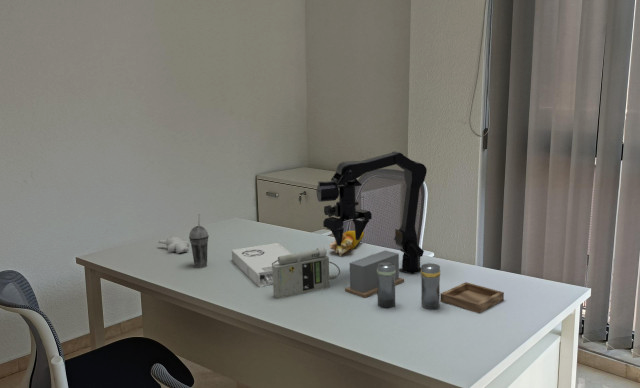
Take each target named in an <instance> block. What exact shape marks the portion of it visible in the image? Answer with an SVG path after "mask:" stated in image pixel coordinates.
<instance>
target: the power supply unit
mask: <svg viewBox="0 0 640 388" xmlns="http://www.w3.org/2000/svg"><path fill="white" fill-rule="evenodd" d="M290 254H293V253H292V252H290V251H289V250H287V249H286V248H285V247H283V246H282V245H281V244H279V243H278V242H275V243H270V244H269V243H268V244H262V245H261V244H260V245H256V246H250V247H249V246H248V247H243V248H235V249H231V258H232V259H231V260H232V263H233V264H234V265H236V266H237V267H238V268H239V269H240V270H241V271H242V272H243V273H244V274H245V275H246V276H247V277H248V278H249V279H250V280H251V281H252V282H253V283H255V284H256V285H257V286H258V288H261V287H264V286H265V287H266V286H270V285H272V286H273V271H272V263H273V262H275V261H276V260H278V257H279V256H284V255H290ZM274 264H279V262H278V261H277V262H276V263H274Z"/></svg>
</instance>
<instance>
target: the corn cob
mask: <svg viewBox="0 0 640 388" xmlns="http://www.w3.org/2000/svg"><path fill="white" fill-rule="evenodd" d="M364 236H365V231H363V232H362V235H361V237H360V239H359V240H356V236H355V230H347V231H345V232H343V237H342V243H341V246H338V245H337V243H336V240H335V239H334V241H333V242H332V241H331V242H330V243H329V249H330V250H334V251H335V254H337V253H338V256H339V257H342V255H344V254H345V253H347V252H348V251H349V250H354V248H355V247H357V245H358V244H359V243H360V242H361V240H363V238H364Z"/></svg>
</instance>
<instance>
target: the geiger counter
mask: <svg viewBox="0 0 640 388" xmlns="http://www.w3.org/2000/svg"><path fill="white" fill-rule="evenodd" d="M327 254H328V253H327V248H326V247H325V246H323V247H319V248H316V249H312V250H306V251H302V252H296V253H295V252H294V253H292V254H290V255H284V256H279V257H278V260H276V261H275V262H273V263H272V271H273V284H272V287H273V288H272V289H273V297H274V298H276V299H281V298H288V297H291V296H297V295H300V294H301V295H302V294H306V293H311V292H314V291H319V290H323V289H329V288H330V287H331V286H330V284H331V283H330V281H332V280H334V279H337V278H338V276H340V274H341V270H340V267H339V266H338V264H336V263H334V262H332V261H330V257H329V256H328V255H327ZM277 261H278V262H279V264H274V263H276V262H277ZM330 264H332V265H334V266H335V267H336V268H337V270H338V274H337V275H336V274H335V275H330Z"/></svg>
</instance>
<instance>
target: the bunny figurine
mask: <svg viewBox="0 0 640 388" xmlns="http://www.w3.org/2000/svg"><path fill="white" fill-rule="evenodd" d="M158 244H164V245H166V248H167V249H166V250H167V252H175V254H177V255H178V254H182V253H185V252H188V251H189V247H190V241H188V240H183V239H181V238H180V236H173V235H172V236H170V237H169V238H167V239H164V238H160V239H158Z"/></svg>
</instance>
